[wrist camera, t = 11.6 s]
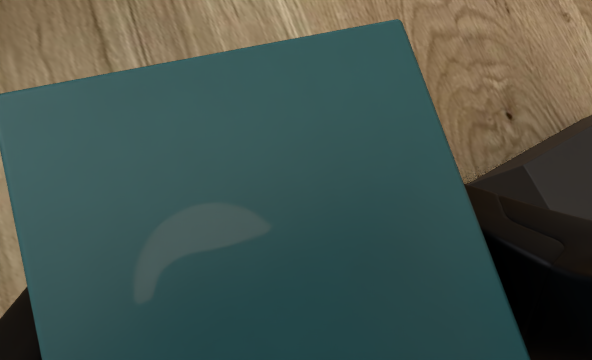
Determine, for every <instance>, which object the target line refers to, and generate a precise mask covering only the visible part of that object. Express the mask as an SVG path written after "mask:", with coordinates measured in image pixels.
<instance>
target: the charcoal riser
mask: <svg viewBox="0 0 592 360" xmlns="http://www.w3.org/2000/svg"><path fill="white" fill-rule="evenodd" d="M467 185H470V186H473V187H476V188H480V189H483V190H486V191H489V192H492V193H496V194H498V196H500V195H502V196H505V197H509V198H512V199H515V200H518V201H522V202H525V203H528V204H532V205H535V206H539V207H542V208H546V209H550V210H554V211H557V212H561V213H565V214H569V215H573V216H577V217H581V218H585V219H589V220H592V115H591V116H589V117H586V118H584V119H582V120H580V121H578V122H576V123H575V124H573V125H571V126H569V127H568V128H566V129H564V130H562V131H560V132H559V133H557V134H555V135H553V136H552V137H550V138H548V139H546V140H545V141H543V142H541V143H539V144H538V145H536V146H534V147H532V148H530V149H529V150H527V151H525V152H523V153H522V154H520V155H518V156H516V157H515V158H513V159H511V160H509V161H507V162H506V163H504V164H502V165H500V166H499V167H497V168H495V169H493V170H492V171H490V172H488V173H486V174H485V175H483V176H481V177H479V178H477V179H476V180H474V181H472V182H470V183H469V184H467Z"/></svg>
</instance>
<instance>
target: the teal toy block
mask: <svg viewBox="0 0 592 360" xmlns="http://www.w3.org/2000/svg"><path fill="white" fill-rule="evenodd" d="M0 151H1V156H2V161H3V166H4V171H5V176H6V181H7V186H8V191H9V196H10V201H11V206H12V211H13V216H14V221H15V226H16V231H17V236H18V241H19V246H20V251H21V256H22V261H23V266H24V271H25V276H26V281H27V286H28V291H29V296H30V301H31V306H32V311H33V316H34V321H35V326H36V331H37V336H38V341H39V346H40V352H41V357H42V360H531V359H530V356H529V354H528V351H527V348H526V346H525V343H524V341H523V338H522V335H521V333H520V330H519V327H518V325H517V322H516V320H515V317H514V314H513V312H512V309H511V307H510V304H509V301H508V299H507V296H506V293H505V291H504V288H503V286H502V283H501V280H500V278H499V275H498V272H497V270H496V267H495V265H494V262H493V259H492V257H491V254H490V251H489V249H488V246H487V244H486V241H485V238H484V236H483V233H482V231H481V228H480V225H479V223H478V220H477V217H476V215H475V212H474V210H473V207H472V204H471V202H470V199H469V196H468V194H467V191H466V189H465V186H464V183H463V181H462V178H461V175H460V173H459V170H458V168H457V165H456V162H455V160H454V157H453V155H452V152H451V149H450V147H449V144H448V141H447V139H446V136H445V134H444V131H443V128H442V126H441V123H440V120H439V118H438V115H437V113H436V110H435V107H434V105H433V102H432V99H431V97H430V94H429V92H428V89H427V86H426V84H425V81H424V79H423V76H422V73H421V71H420V68H419V65H418V63H417V60H416V58H415V55H414V52H413V50H412V47H411V44H410V42H409V39H408V37H407V34H406V31H405V29H404V26H403V23H402V22H401V21H400V20H398V19H396V20H391V21H385V22H380V23H375V24H369V25H364V26H359V27H353V28H348V29H343V30H337V31H332V32H327V33H321V34H316V35H311V36H305V37H300V38H295V39H289V40H284V41H279V42H273V43H268V44H263V45H257V46H252V47H247V48H241V49H236V50H231V51H225V52H220V53H215V54H209V55H204V56H199V57H193V58H188V59H183V60H177V61H172V62H167V63H161V64H156V65H151V66H145V67H140V68H135V69H129V70H124V71H119V72H114V73H108V74H103V75H98V76H92V77H87V78H82V79H76V80H71V81H66V82H60V83H55V84H50V85H44V86H39V87H34V88H28V89H23V90H18V91H12V92H7V93H2V94H0Z"/></svg>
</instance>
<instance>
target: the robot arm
mask: <svg viewBox="0 0 592 360" xmlns="http://www.w3.org/2000/svg"><path fill="white" fill-rule="evenodd" d="M464 186H465V189H466V191H467V194H468V196H469V199H470V202H471V204H472V207H473V210H474V212H475V215H476V217H477V220H478V223H479V225H480V228H481V231H482V233H483V236H484V238H485V241H486V244H487V246H488V249H489V251H490V254H491V257H492V259H493V262H494V265H495V267H496V270H497V272H498V275H499V278H500V280H501V283H502V286H503V288H504V291H505V293H506V296H507V299H508V301H509V304H510V307H511V309H512V312H513V314H514V317H515V320H516V322H517V325H518V327H519V330H520V333H521V335H522V338H523V341H524V343H525V346H526V348H527V351H528V354H529V356H530V359H531V360H592V220H589V219H585V218H581V217H577V216H573V215H569V214H565V213H561V212H557V211H554V210H550V209H546V208H542V207H539V206H535V205H532V204H528V203H525V202H522V201H518V200H515V199H512V198H509V197H505V196H502V195H500V196H498V194H496V193H492V192H489V191H486V190H483V189H480V188H476V187H473V186H470V185H467V184H464ZM0 360H42V357H41V352H40V346H39V341H38V336H37V331H36V326H35V321H34V316H33V311H32V306H31V301H30V296H29V291H28V286H27V287H26V289H25V290H24V291H23V292H22V293H21V295H20V296H19V297H18V298H17V299H16V301H15V302H14V303H13V304H12V305H11V307H10V308H9V309H8V310H7V311H6V313H5V314H4V315H3V316H2V317H1V319H0Z"/></svg>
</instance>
